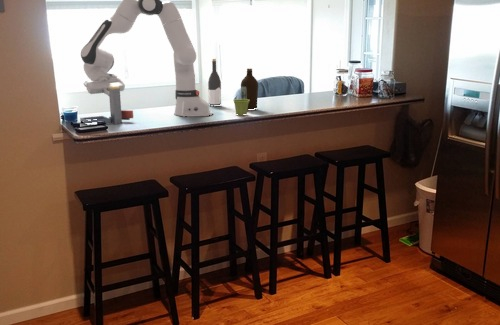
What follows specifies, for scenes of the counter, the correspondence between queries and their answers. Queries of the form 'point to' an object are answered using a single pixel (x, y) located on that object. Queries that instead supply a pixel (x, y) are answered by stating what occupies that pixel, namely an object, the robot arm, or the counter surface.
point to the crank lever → (126, 114)
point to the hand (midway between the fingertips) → (111, 95)
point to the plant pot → (241, 106)
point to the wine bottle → (214, 86)
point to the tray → (99, 118)
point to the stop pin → (115, 105)
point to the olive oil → (249, 89)
